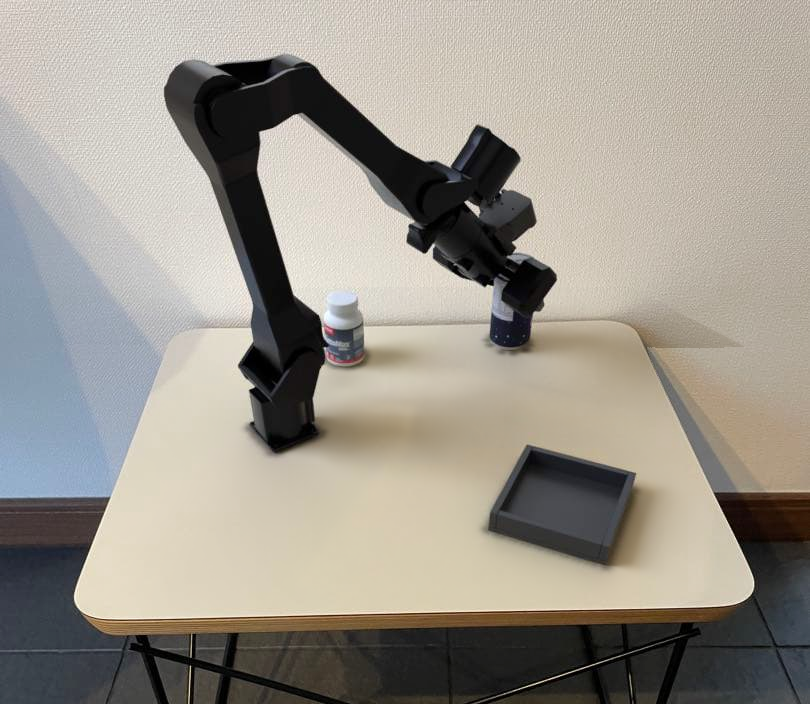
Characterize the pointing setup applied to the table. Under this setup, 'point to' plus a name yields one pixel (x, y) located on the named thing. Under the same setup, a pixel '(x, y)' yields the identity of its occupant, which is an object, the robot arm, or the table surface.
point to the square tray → (563, 503)
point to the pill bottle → (344, 329)
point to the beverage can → (508, 316)
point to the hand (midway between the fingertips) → (521, 295)
